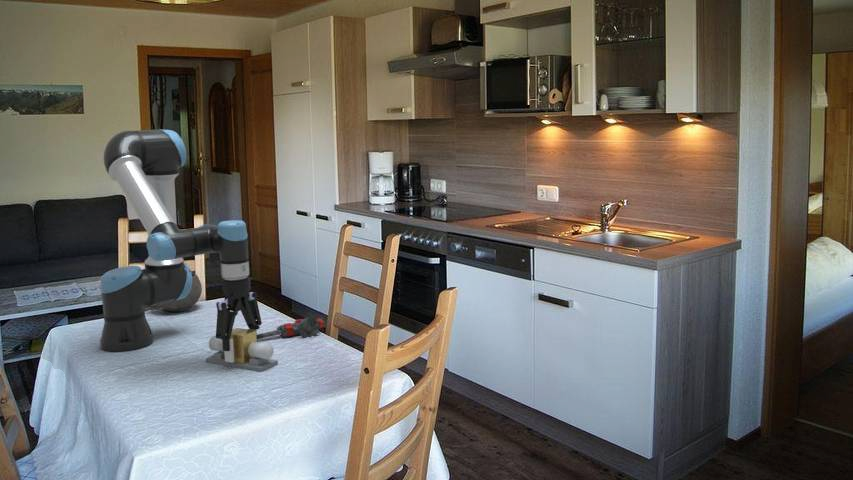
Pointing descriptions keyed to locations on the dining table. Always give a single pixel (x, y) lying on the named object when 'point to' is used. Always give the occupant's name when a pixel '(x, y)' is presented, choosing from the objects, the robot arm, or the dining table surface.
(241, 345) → the cardboard box
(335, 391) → the dining table surface
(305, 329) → the valve
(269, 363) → the shaft bed
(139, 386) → the dining table surface
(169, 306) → the bowl
